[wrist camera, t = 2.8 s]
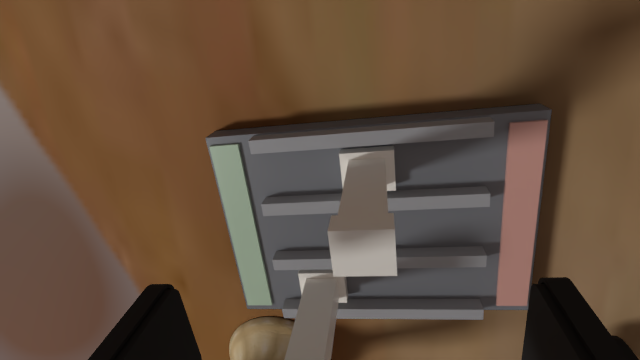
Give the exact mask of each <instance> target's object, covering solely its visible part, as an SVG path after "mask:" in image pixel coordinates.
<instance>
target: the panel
mask: <svg viewBox="0 0 640 360" xmlns="http://www.w3.org/2000/svg"><path fill="white" fill-rule="evenodd" d="M551 112H552V110H551V109H549V108H548V107H546V106H544V105H542V104H529V105H517V106H506V107H494V108H482V109H470V110H458V111H446V112H435V113H423V114H411V115H399V116H387V117H375V118H364V119H352V120H340V121H328V122H316V123H304V124H293V125H281V126H269V127H257V128H245V129H233V130H221V131H215V132H213V133H212V134H210V135H209V136H208V137H206V142H207V146H208V150H209V154H210V158H211V162H212V167H213V171H214V175H215V179H216V183H217V187H218V191H219V195H220V199H221V203H222V207H223V211H224V215H225V219H226V224H227V228H228V232H229V236H230V240H231V244H232V248H233V252H234V256H235V260H236V264H237V268H238V272H239V276H240V281H241V285H242V289H243V293H244V297H245V301H246V305H247V309H282V311H283V316H284V318H296V315H297V311H298V307H299V304H300V300H301V296H302V294H301V288H300V282H299V277H298V272H299V270H326V269H332V263H331V255H330V247H329V239H328V232H327V231H328V227H329V223H330V218H331V216H332V215H338V211H339V206H340V201H341V196H342V191H343V187H342V178H341V168H340V159H339V152H340V149H353V148H367V147H381V146H394V159H395V181H396V191H387V200H388V213H394V225H395V241H396V261H397V276H348V277H346V280H347V289H348V301H347V303H338V310H337V318H336V319H459V320H483V312H484V310H528V305H529V298H530V290H531V284H532V275H533V267H534V258H535V250H536V241H537V232H538V224H539V215H540V206H541V198H542V189H543V181H544V172H545V163H546V155H547V146H548V138H549V129H550V120H551Z"/></svg>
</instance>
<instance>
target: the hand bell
mask: <svg viewBox="0 0 640 360" xmlns="http://www.w3.org/2000/svg"><path fill="white" fill-rule="evenodd" d="M293 326H294V321H292V320H289V319H285V318H279V317H259V318H255V319H252V320H249V321H247V322H245V323H244V324H242V325H241V326H239V327H238V328H237V329H236V330H235V332H234V333H233V335H232V337H231V340H230V345H229V353H230V359H231V360H284V359H285V355H286V352H287V348H288V344H289V341H290V337H291V333H292V330H293Z"/></svg>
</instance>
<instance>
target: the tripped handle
mask: <svg viewBox="0 0 640 360" xmlns="http://www.w3.org/2000/svg"><path fill="white" fill-rule="evenodd" d="M339 159H340V168H341V178H342V187H343V191H342V196H341V201H340V206H339V211H338V215H332V216H331V218H330V223H329V227H328V231H327V232H328V239H329V247H330V255H331V263H332V270H333V277H348V276H397V261H396V241H395V225H394V213H388V200H387V191H396V181H395V159H394V146H381V147H367V148H353V149H340V152H339Z"/></svg>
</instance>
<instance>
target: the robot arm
mask: <svg viewBox="0 0 640 360" xmlns="http://www.w3.org/2000/svg"><path fill="white" fill-rule="evenodd" d="M88 360H202V359H201V354H200V352H199V349H198V346H197V343H196V340H195V337H194V334H193V331H192V328H191V325H190V322H189V320H188V317H187V314H186V311H185V308H184V305H183V302H182V299H181V296H180V293H179V291H178V290H176V289H174V287H173V286H172V285H170V284H151V285H149V286H147V287H146V288H145V290H144V291H143V292H142V293H141V295H140V296H139V297H138V298H137V300H136V301H135V302H134V304H133V305H132V306H131V307H130V308H129V309H128V311H127V312H126V313H125V314H124V316H123V317H122V318H121V319H120V321H119V322H118V323H117V324H116V326H115V327H114V328H113V329H112V331H111V332H110V333H109V334H108V336H107V337H106V338H105V339H104V340H103V342H102V343H101V344H100V345H99V347H98V348H97V349H96V350H95V352H94V353H93V354H92V355H91V357H90V358H89V359H88ZM522 360H639V359H638V358H637V357H636V356H635V354H634V353H633V352H632V350H631V349H630V348H629V346H628V345H627V344H626V343H625V342H624V341H623V340H622V339H621V338H619V337H617V336H611V335H610V333H609V332H608V331H607V329H606V328H605V326H604V325H603V324H602V322H601V321H600V320H599V318H598V317H597V316H596V314H595V313H594V311H593V310H592V309H591V307H590V306H589V305H588V303H587V302H586V301H585V299H584V298H583V296H582V295H581V294H580V292H579V291H578V290H577V288H576V287H575V285H574V284H573V283H572V281H571V280H570V279H569V278H566V277H563V278H540V280H539V282H538V284H532V286H531V290H530V298H529V305H528V313H527V321H526V329H525V337H524V345H523V353H522Z"/></svg>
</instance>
